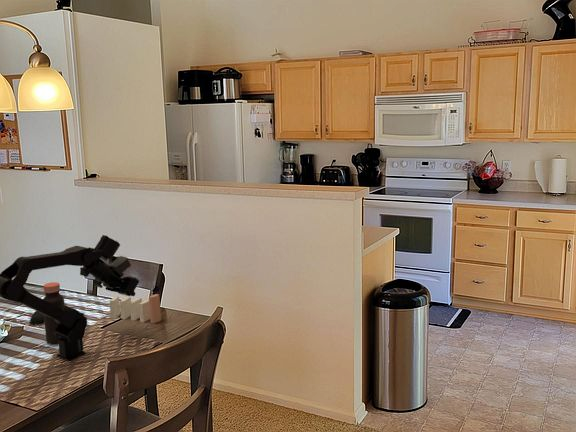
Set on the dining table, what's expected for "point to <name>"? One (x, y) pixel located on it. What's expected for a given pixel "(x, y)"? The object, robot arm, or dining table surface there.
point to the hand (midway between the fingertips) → (131, 294)
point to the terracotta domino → (154, 308)
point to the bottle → (57, 300)
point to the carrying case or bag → (37, 318)
